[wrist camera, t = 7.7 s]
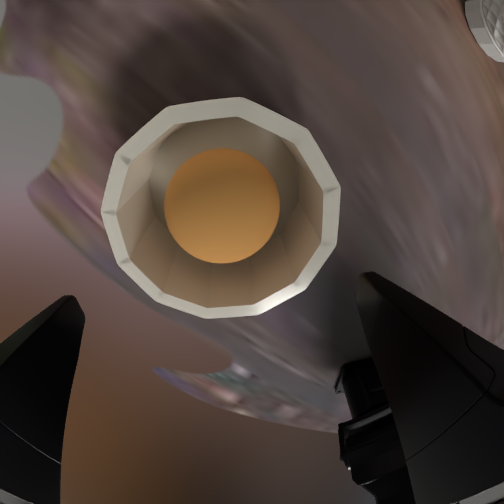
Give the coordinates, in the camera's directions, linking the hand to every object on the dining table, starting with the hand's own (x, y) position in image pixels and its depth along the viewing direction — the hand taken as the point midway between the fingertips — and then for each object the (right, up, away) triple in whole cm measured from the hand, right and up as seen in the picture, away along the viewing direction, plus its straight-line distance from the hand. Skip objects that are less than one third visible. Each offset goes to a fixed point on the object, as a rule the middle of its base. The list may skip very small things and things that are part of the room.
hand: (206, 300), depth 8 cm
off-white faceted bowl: (0, +6, +10) cm, 11 cm away
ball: (0, +4, +6) cm, 8 cm away
